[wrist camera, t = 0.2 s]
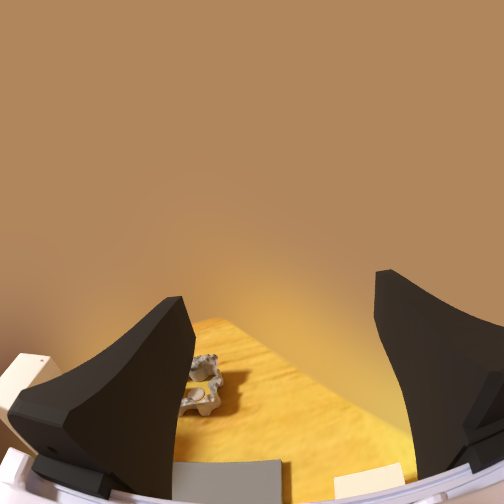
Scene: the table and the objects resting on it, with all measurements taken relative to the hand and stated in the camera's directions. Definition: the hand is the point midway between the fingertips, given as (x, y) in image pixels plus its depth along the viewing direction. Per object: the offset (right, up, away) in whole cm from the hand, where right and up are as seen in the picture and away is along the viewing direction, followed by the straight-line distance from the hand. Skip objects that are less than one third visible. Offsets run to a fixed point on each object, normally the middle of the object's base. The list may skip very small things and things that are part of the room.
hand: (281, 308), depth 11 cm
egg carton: (-9, -16, +24) cm, 30 cm away
